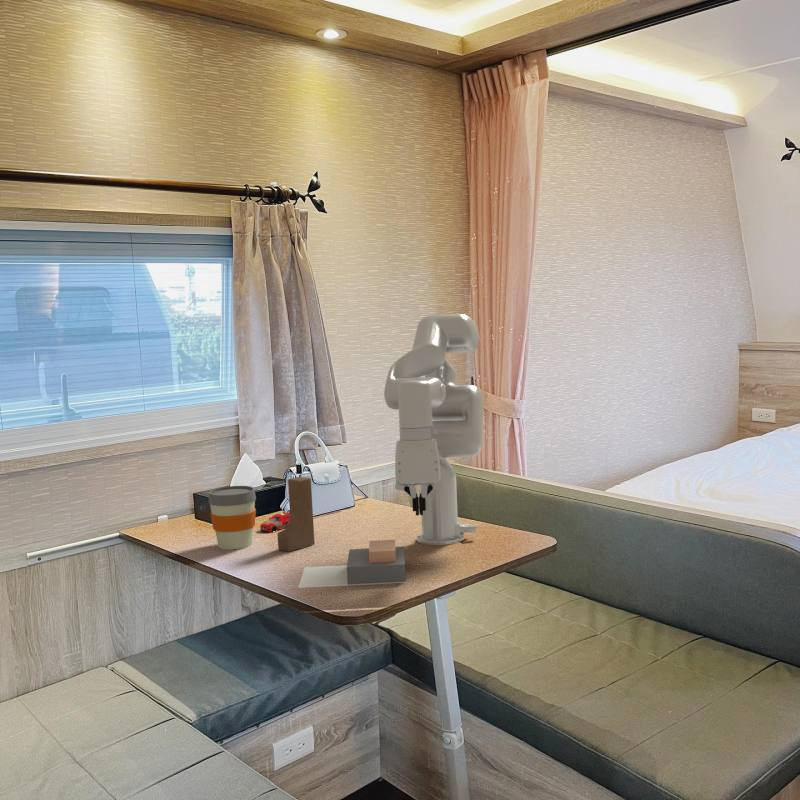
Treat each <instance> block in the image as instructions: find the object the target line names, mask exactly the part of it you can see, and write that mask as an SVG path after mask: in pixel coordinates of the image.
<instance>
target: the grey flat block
mask: <svg viewBox="0 0 800 800" xmlns="http://www.w3.org/2000/svg"><path fill="white" fill-rule="evenodd" d="M348 550H349V551H348V557H347V563H346V565H347V581H348V585H349V586H351V585H350V584H369V585H371V584H370V583H388V584H390V583H389V582H406V583H407V578H406V577H407V576H406V574H407V572H406V557H405V547H404V546H395V550H396V561H392V562H372V563H369V547H367V548H351V549H350V548H349V549H348Z"/></svg>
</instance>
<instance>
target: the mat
mask: <svg viewBox="0 0 800 800" xmlns="http://www.w3.org/2000/svg"><path fill="white" fill-rule="evenodd" d="M405 583H407V581H406V582H389V583H370V584H350V585H348V581H347V564H345V565H343V564H341V565H324V566H323V565H322V566H305V567H303V570H302V574H301V577H300V581H299V584H298V587H297V588H298V589H307V588H324V587H325V588H327V587H344V586H346V587H347V586H362V585H363V586H364V585H382V584H383V585H386V584H387V585H388V584H405Z"/></svg>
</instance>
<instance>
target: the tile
mask: <svg viewBox="0 0 800 800" xmlns="http://www.w3.org/2000/svg"><path fill="white" fill-rule="evenodd" d="M368 544H369V545H368V548H369V563H372V562H392V561H396V550H395V547H396V539H382V540H381V539H379V540H369V543H368Z"/></svg>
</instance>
